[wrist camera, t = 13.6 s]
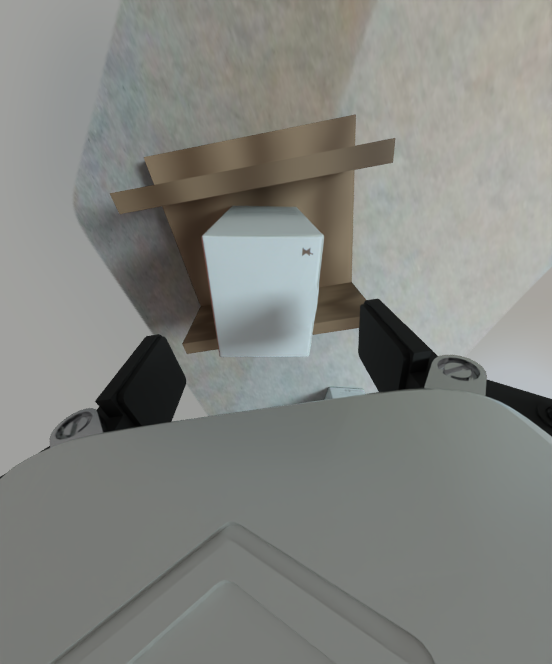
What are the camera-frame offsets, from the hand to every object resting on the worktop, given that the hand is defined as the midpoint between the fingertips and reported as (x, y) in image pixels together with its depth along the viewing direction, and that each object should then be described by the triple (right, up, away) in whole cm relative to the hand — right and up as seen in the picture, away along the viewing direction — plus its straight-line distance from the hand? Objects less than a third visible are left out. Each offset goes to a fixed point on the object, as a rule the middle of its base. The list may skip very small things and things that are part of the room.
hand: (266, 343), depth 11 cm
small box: (-1, +9, +13) cm, 16 cm away
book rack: (-1, +10, +14) cm, 18 cm away
